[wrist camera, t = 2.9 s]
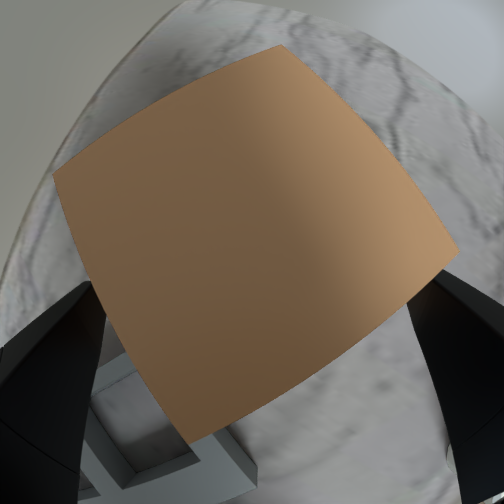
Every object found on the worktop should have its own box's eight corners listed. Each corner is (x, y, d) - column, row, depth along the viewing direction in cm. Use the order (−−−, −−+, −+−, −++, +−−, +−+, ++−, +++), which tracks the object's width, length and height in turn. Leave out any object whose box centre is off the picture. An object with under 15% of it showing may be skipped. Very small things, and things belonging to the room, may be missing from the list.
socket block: (257, 467, 15) (257, 487, 12) (88, 521, 13) (75, 535, 11) (163, 334, 16) (147, 337, 14) (18, 420, 15) (-2, 427, 13)
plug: (316, 299, 17) (459, 251, 4) (242, 348, 16) (188, 445, 3) (267, 227, 18) (281, 44, 5) (194, 274, 17) (52, 174, 4)
